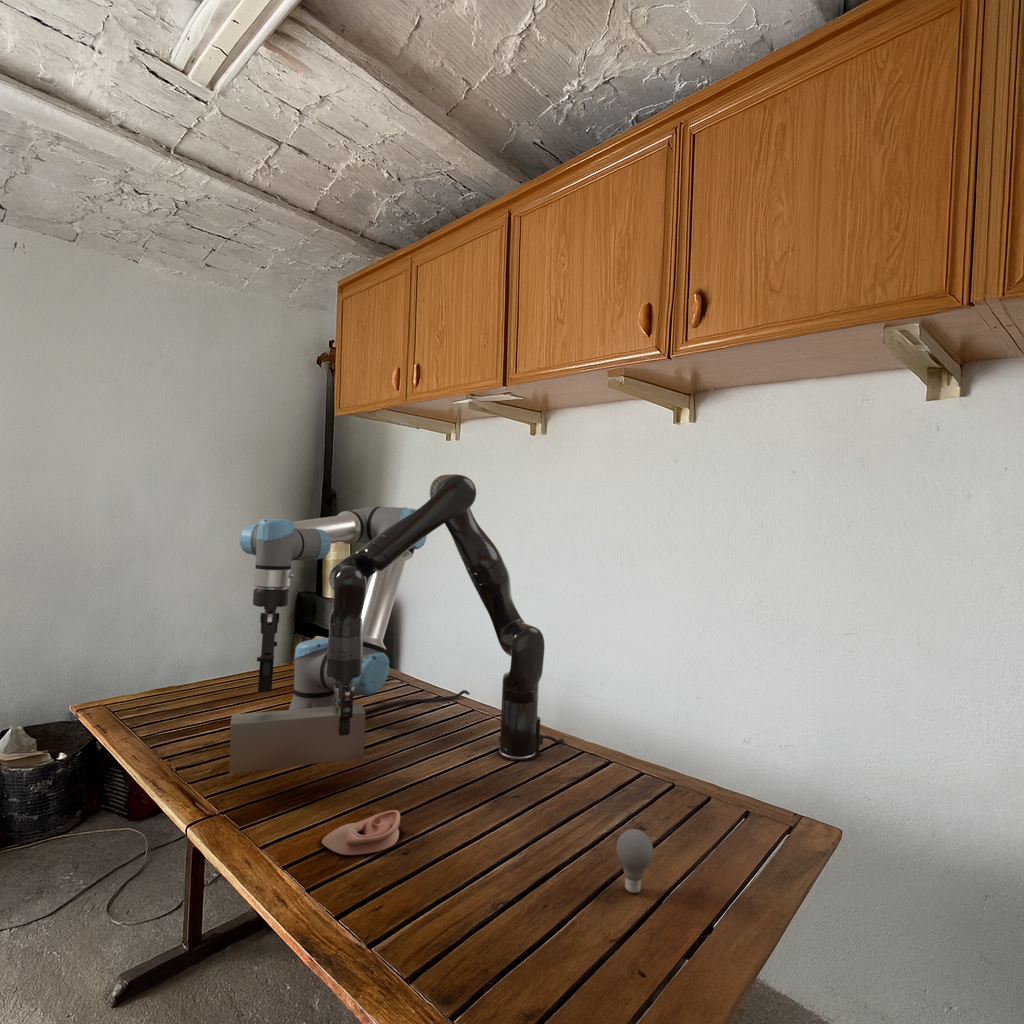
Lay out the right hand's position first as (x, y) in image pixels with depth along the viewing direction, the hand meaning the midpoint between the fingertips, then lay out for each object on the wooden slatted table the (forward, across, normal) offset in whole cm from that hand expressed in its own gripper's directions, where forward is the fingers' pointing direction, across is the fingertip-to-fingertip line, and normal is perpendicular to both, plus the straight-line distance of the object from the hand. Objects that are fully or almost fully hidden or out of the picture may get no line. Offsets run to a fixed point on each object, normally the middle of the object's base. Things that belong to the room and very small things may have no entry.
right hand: (342, 729), depth 140 cm
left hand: (-9, +7, +16) cm, 20 cm away
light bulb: (+12, -54, -42) cm, 69 cm away
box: (+6, 0, +9) cm, 11 cm away
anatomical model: (+12, -25, -1) cm, 28 cm away
